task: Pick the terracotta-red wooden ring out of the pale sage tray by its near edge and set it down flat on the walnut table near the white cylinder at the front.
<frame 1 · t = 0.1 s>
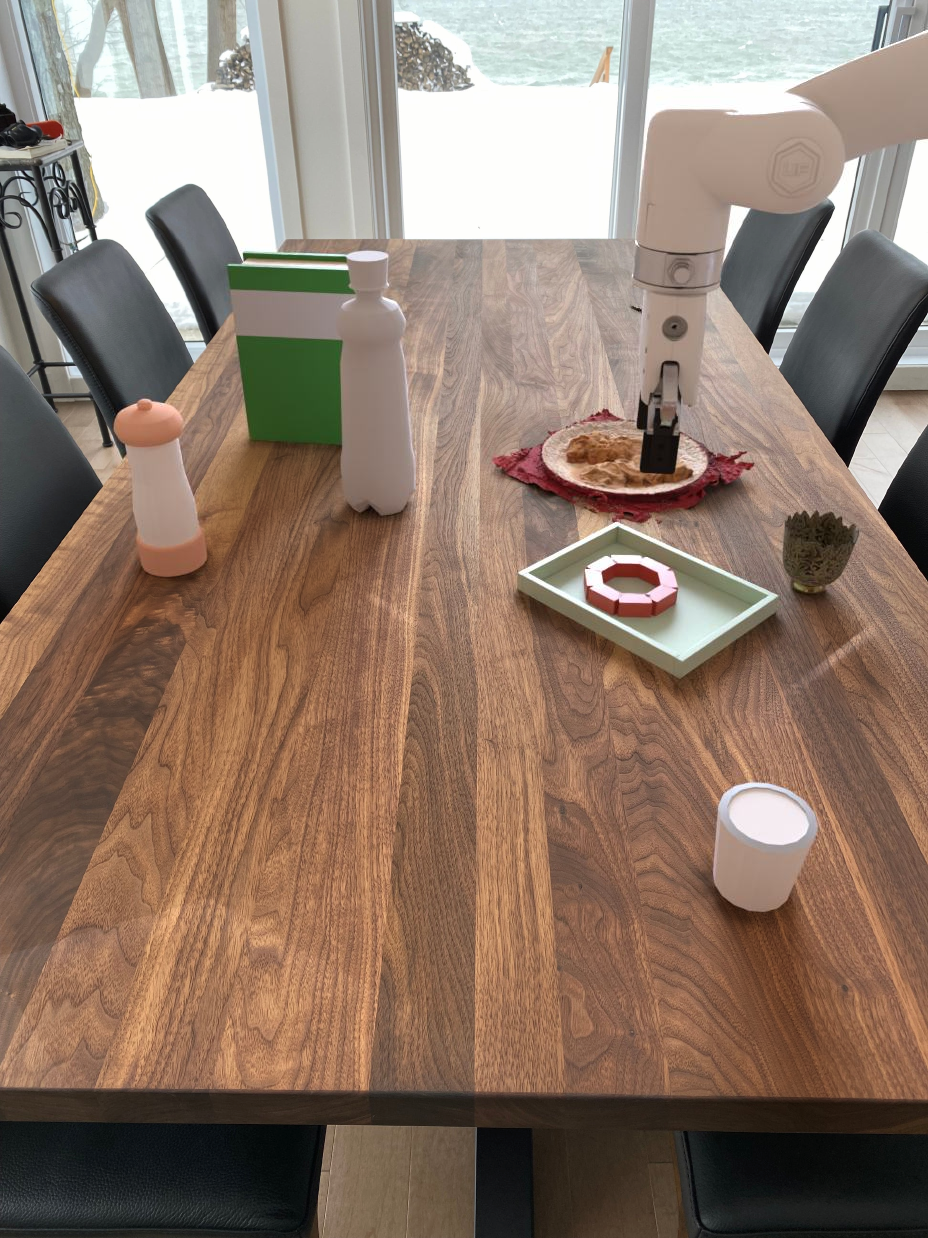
hand: (654, 449, 93), 18 cm above the table, tool pointing down, fingers open, 9 cm apart
tray: (643, 603, 104), on the table
pepper shaker: (174, 561, 111), on the table
ring: (629, 592, 105), resting on tray
white cylinder: (750, 883, 73), on the table
plate with food: (620, 473, 130), on the table
dark curved strip: (650, 306, 191), on the table
cup: (806, 592, 106), on the table
bottle: (380, 504, 123), on the table
hardback book: (316, 433, 141), on the table
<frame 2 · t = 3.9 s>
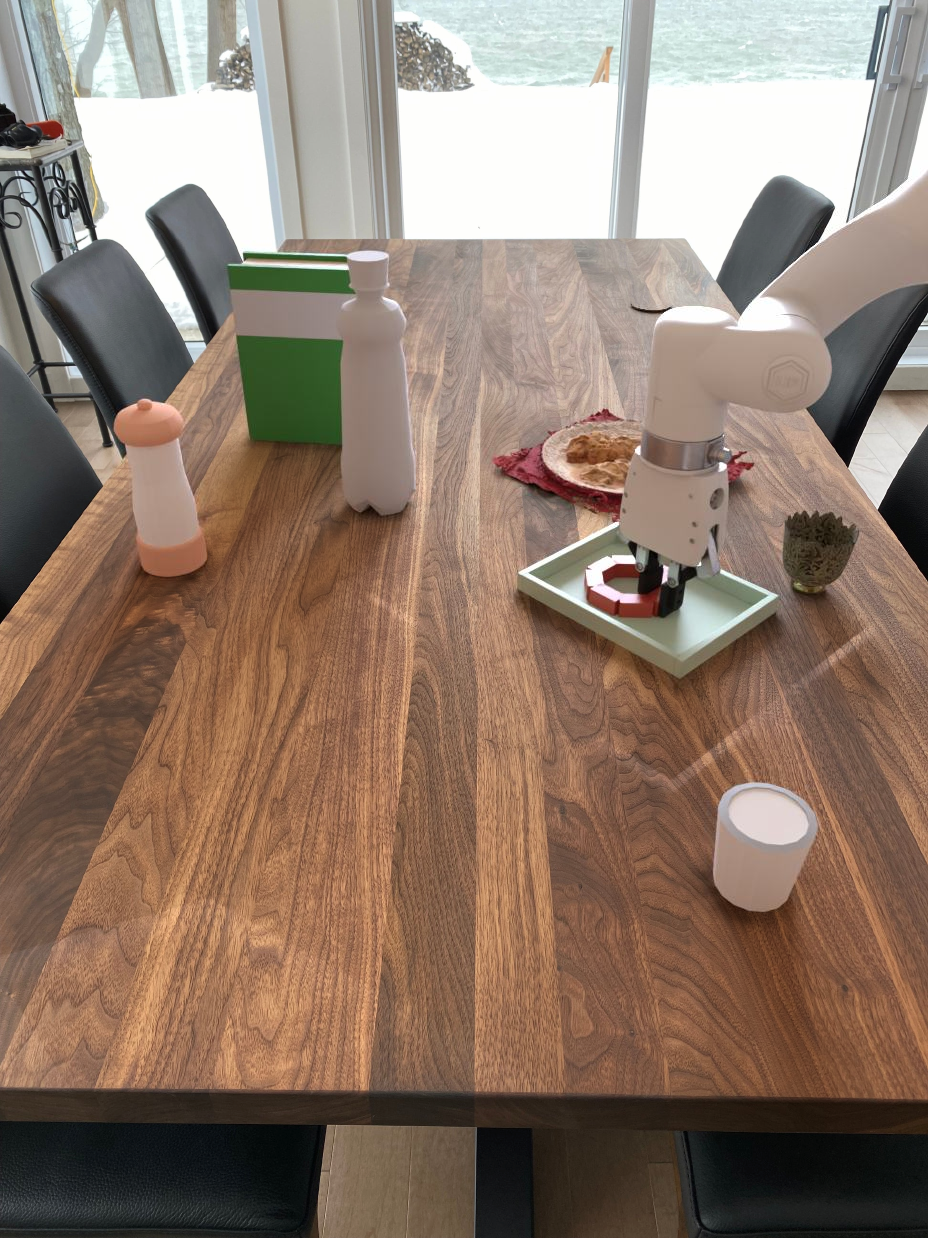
hand: (658, 605, 102), 1 cm above the table, tool pointing down, fingers closed on ring, 2 cm apart
ring: (629, 592, 105), point 1 cm above the table, touching gripper, tray
everything else where it was.
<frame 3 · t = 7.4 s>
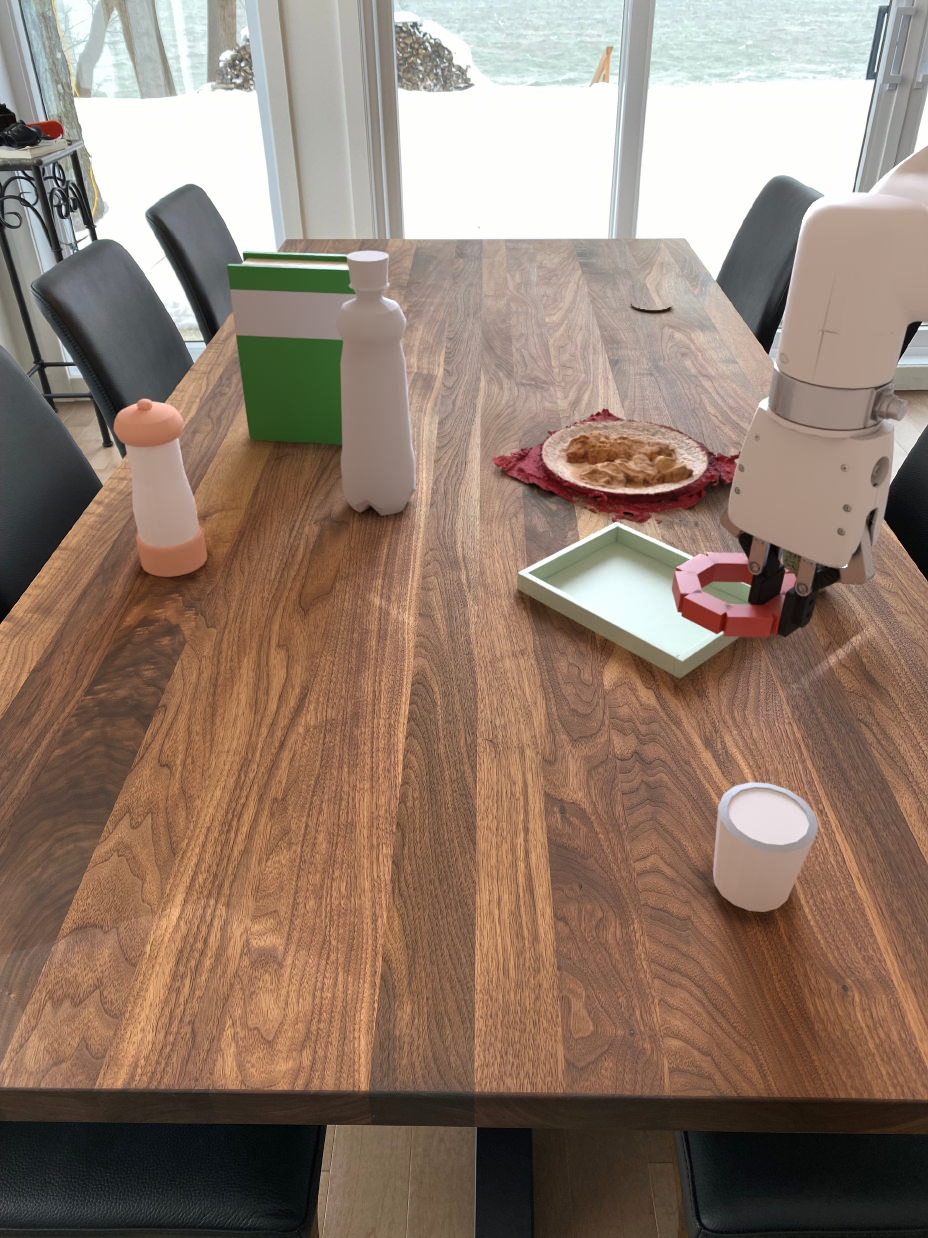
hand: (776, 620, 76), 15 cm above the table, tool pointing down, fingers closed on ring
ring: (734, 602, 78), point 14 cm above the table, touching gripper
everything else where it was.
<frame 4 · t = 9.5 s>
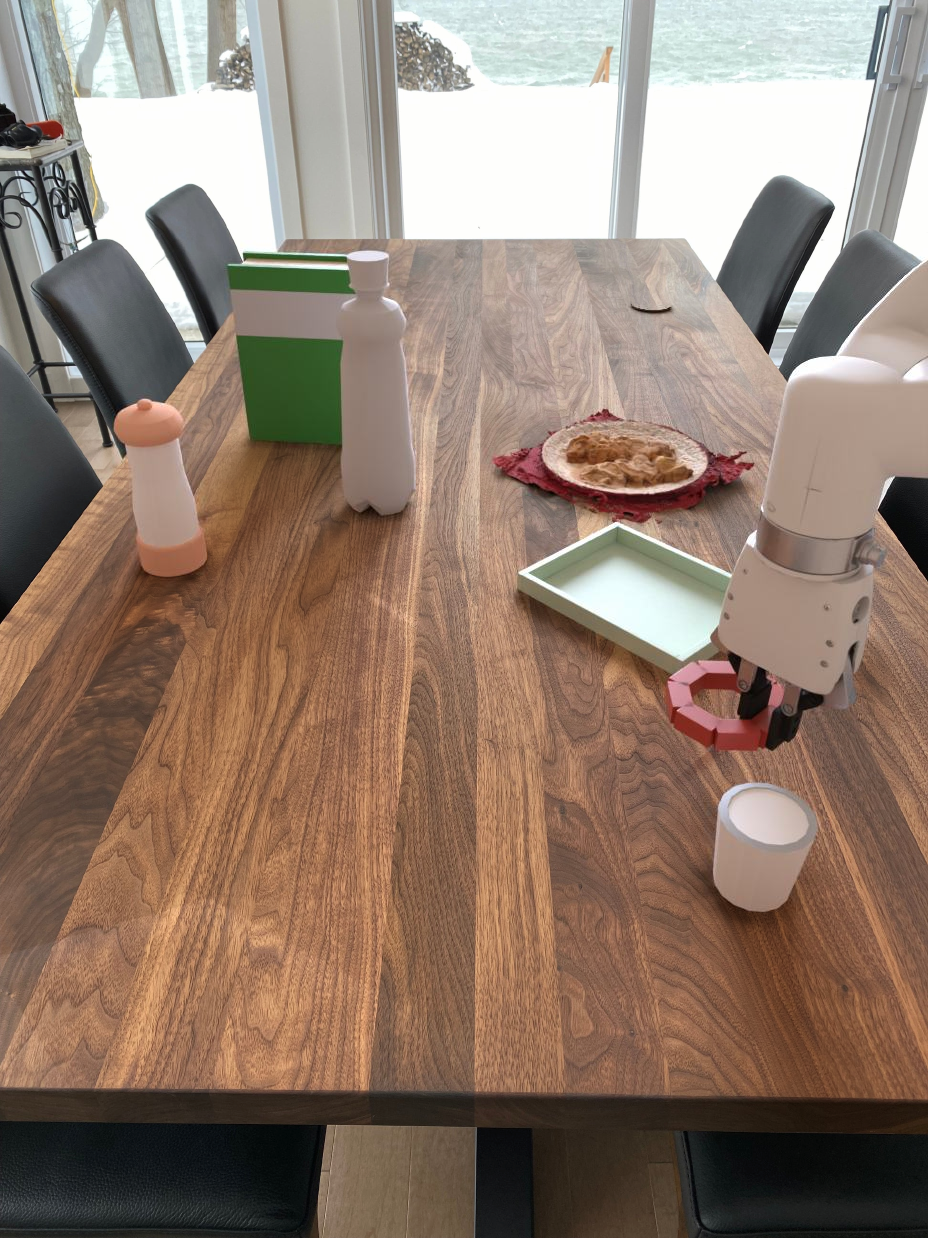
hand: (764, 732, 79), 5 cm above the table, tool pointing down, fingers closed on ring
ring: (724, 712, 82), point 5 cm above the table, touching gripper
everything else where it was.
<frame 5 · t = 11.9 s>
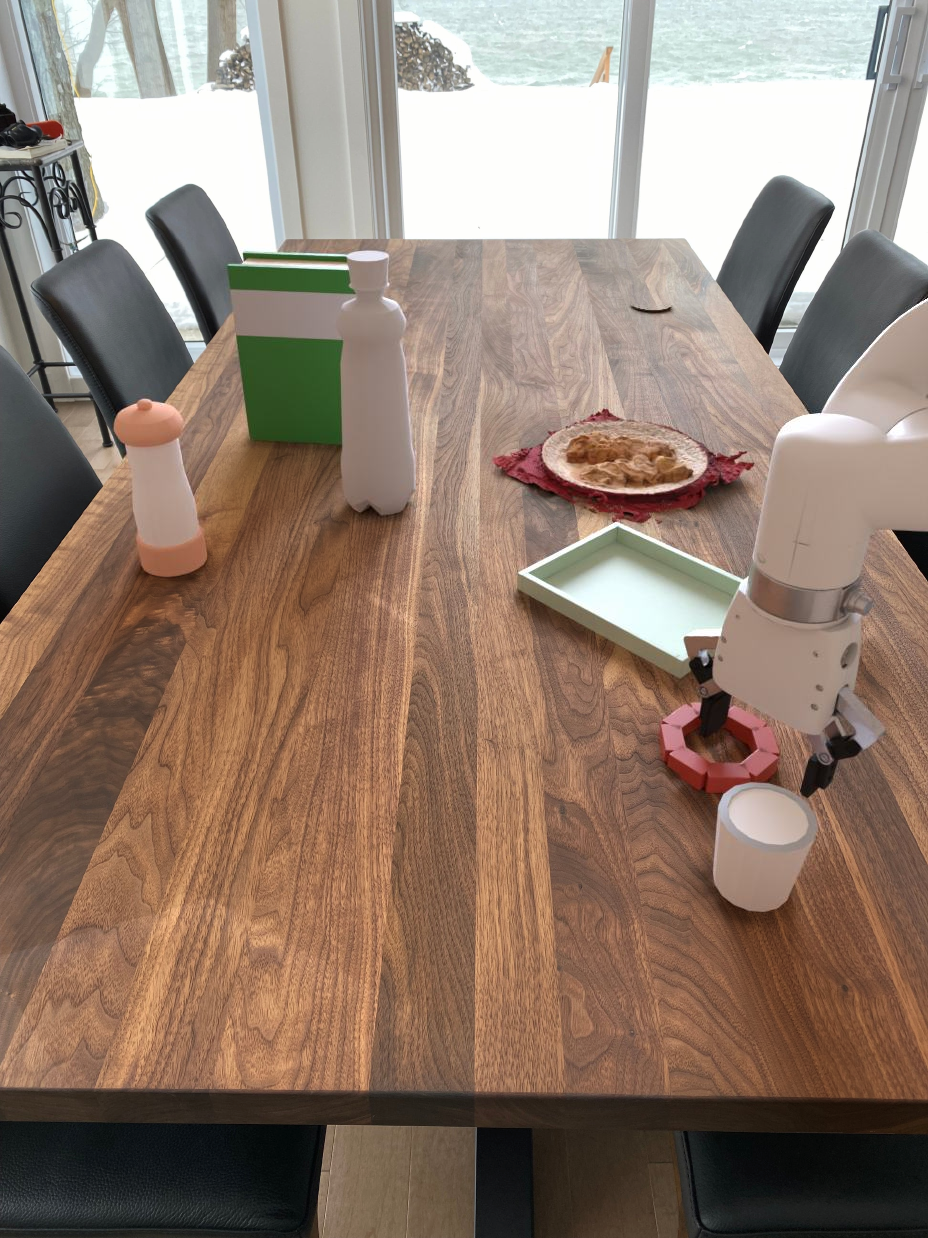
hand: (760, 758, 81), 2 cm above the table, tool pointing down, fingers open, 9 cm apart
ring: (716, 754, 84), on the table
everything else where it was.
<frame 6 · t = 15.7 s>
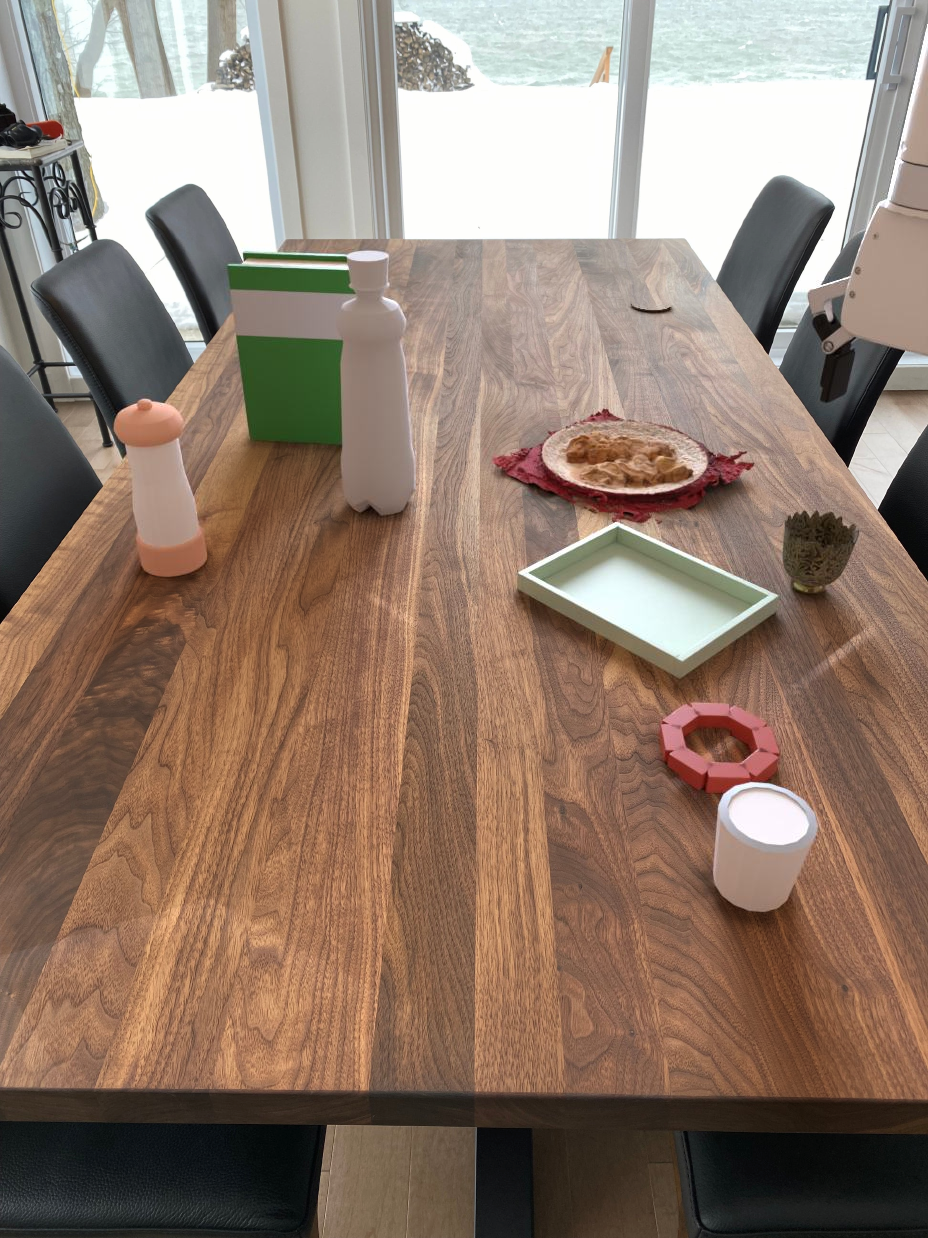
hand: (886, 414, 79), 26 cm above the table, tool pointing down, fingers open, 9 cm apart
nothing on the table moved.
at the end: ring 14.0 cm from the white cylinder (horizontally); ring on the table; ring tilted 0° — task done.
